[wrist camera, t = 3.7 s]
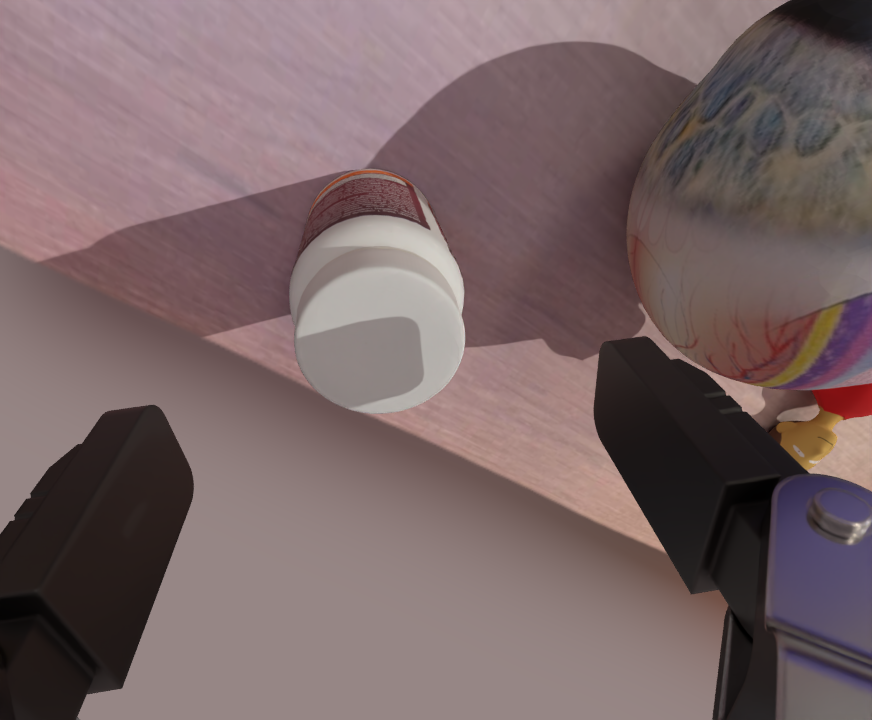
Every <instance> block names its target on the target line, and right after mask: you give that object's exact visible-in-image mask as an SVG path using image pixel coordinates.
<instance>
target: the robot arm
mask: <svg viewBox="0 0 872 720" xmlns="http://www.w3.org/2000/svg"><path fill="white" fill-rule="evenodd" d="M594 420H595V426H596V430H597V433H598V436H599V438H600V440H601V442H602V444H603V445H604V447H605V449H606V450H607V452H608V454H609V456H610V457H611V459H612V461H613V462H614V464H615V466H616V467H617V469H618V471H619V473H620V474H621V476H622V478H623V479H624V481H625V483H626V484H627V486H628V488H629V490H630V491H631V493H632V495H633V496H634V498H635V500H636V501H637V503H638V505H639V506H640V508H641V510H642V512H643V513H644V515H645V517H646V518H647V520H648V522H649V523H650V525H651V527H652V529H653V530H654V532H655V534H656V535H657V537H658V539H659V540H660V542H661V544H662V545H663V547H664V549H665V551H666V552H667V554H668V556H669V557H670V559H671V561H672V562H673V564H674V566H675V568H676V569H677V571H678V572H679V574H680V576H681V578H682V579H683V581H684V583H685V584H686V586H687V588H688V589H689V591H690V593H691V594H696V593H702V592H708V591H714V590H720V592H721V594H722V595H723V597H724V598H725V600H726V602H727V603H728V605H729V606H728V609H727V611H726V615H725V619H724V629H723V636H722V644H721V652H720V661H719V669H718V678H717V685H716V694H715V702H714V710H713V718H712V720H872V492H871V491H869V490H867V489H865V488H863V487H861V486H859V485H857V484H854V483H852V482H849V481H847V480H844V479H840V478H837V477H833V476H828V475H821V474H810V473H808V472H807V471H806V470H805V469H804V468H803V467H802V466H801V465H800V464H799V463H798V462H797V461H796V460H795V459H794V458H793V457H792V456H791V455H790V454H789V453H788V452H787V451H786V450H785V449H784V448H783V447H782V446H781V445H780V444H779V443H778V442H777V441H776V440H775V439H774V438H773V437H772V436H771V435H769V434H768V433H767V432H766V431H765V430H764V429H763V428H762V427H761V426H760V425H759V424H758V423H757V422H756V421H755V420H754V419H753V418H752V417H751V416H750V415H749V414H748V413H747V412H743V411H742V407H741V406H740V405H739V404H738V403H737V402H736V401H735V400H734V399H733V398H732V397H731V396H726V392H725V391H724V390H723V389H722V388H721V387H720V386H719V385H718V384H717V383H716V382H715V381H714V380H713V379H712V378H711V377H710V376H709V375H708V374H707V373H705V372H704V371H702V370H700V369H698V368H696V367H694V366H692V365H690V364H688V363H686V362H684V361H682V360H681V359H673V360H670V359H669V358H668V357H667V356H666V354H665V353H664V352H663V351H662V350H661V349H660V348H659V347H658V346H657V345H656V344H655V343H654V342H653V341H652V340H651V339H650V338H648V337H646V336H643V337H635V338H628V339H621V340H614V341H607V342H604V343H603V344H602V346H601V348H600V352H599V361H598V371H597V381H596V390H595V400H594ZM193 490H194V483H193V476H192V471H191V468H190V466H189V464H188V462H187V459H186V458H185V455H184V453H183V451H182V449H181V447H180V445H179V443H178V441H177V439H176V437H175V435H174V433H173V431H172V429H171V427H170V425H169V423H168V421H167V419H166V417H165V415H164V413H163V412H162V410H161V409H160V408H159V407H157V406H155V405H148V406H141V407H133V408H127V409H119V410H112V411H108V412H105V413H104V414H103V415H102V416H101V417H100V419H99V420H98V422H97V423H96V425H95V426H94V427H93V429H92V430H91V432H90V433H89V434H88V436H87V437H86V439H85V440H84V442H83V443H82V444H78V445H76V446H75V447H74V448H73V449H71V450H70V451H69V452H68V453H67V454H65V455H64V456H63V457H62V458H61V459H59V460H58V461H57V462H56V463H55V464H53V465H52V466H51V467H50V468H49V469H48V470H47V471H46V473H45V474H44V476H43V477H42V478H41V480H40V481H39V482H38V484H37V485H36V486H35V488H34V489H33V491H32V492H31V493H30V494H31V498H30V499H26V500H25V501H24V503H23V504H22V506H21V507H20V508H19V510H18V511H17V512H16V514H15V515H14V516H15V520H14V521H10V522H9V523H8V525H7V526H6V528H5V529H4V530H3V532H2V533H1V534H0V720H80V719H79V718H78V717H77V716H78V714H79V711H80V709H81V706H82V704H83V701H84V699H85V697H86V695H87V694H92V693H98V692H104V691H110V690H116V689H121V688H122V687H123V684H124V681H125V679H126V676H127V673H128V671H129V668H130V666H131V663H132V660H133V657H134V655H135V652H136V650H137V647H138V644H139V642H140V639H141V636H142V633H143V631H144V628H145V625H146V623H147V620H148V617H149V615H150V612H151V609H152V607H153V604H154V601H155V599H156V596H157V593H158V591H159V588H160V585H161V583H162V580H163V577H164V574H165V572H166V569H167V566H168V564H169V561H170V558H171V556H172V553H173V550H174V547H175V545H176V542H177V539H178V537H179V534H180V531H181V529H182V526H183V523H184V521H185V518H186V515H187V513H188V510H189V507H190V504H191V502H192V498H193Z"/></svg>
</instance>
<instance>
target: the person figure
mask: <svg viewBox="0 0 872 720" xmlns="http://www.w3.org/2000/svg"><path fill="white" fill-rule="evenodd" d="M812 392H813V394H814V396H815V398H816V401H817V403H818V406H819V409H820V411H819V414H818V415H817V416H816V417H815V418H814V419H812V420H810V421H787V422H781V423H779V424H778V425H777V426H776V427H774V428H773V429H772V430H771V431H770V432H769V433H768V434H769V435H771V436H772V437H773V438H774V439H775V440H776V441H777V442H778V443H779V444H780V445H781V446H782V447H783V448H784V449H785V450H786V451H787V452H788V453H789V454H790V455H791V456H792V457H793V458H794V459H795V460H796V461H797V462H798V463H799V464H800V465H801V466H802V467H803V468H804V469H805V470H808V469H810V468H812V467H813V466H815V465H816V464H817V463H818V462H819V461H820V460H821V459H822V458H823V457H825V456H826V455H827V454H828V453H829V452H831V450H832V449H833V448H834V446H835V444H836V441H837V436H836V434H834V433H833V432H832V429H833V427H834V426H835V425H836V423H838V422H839V421H840V420H846V419H849V418H854V417H864V416H869V415H872V383H869V384H862V385H855V386H847V387H839V388H830V389H818V390H812Z"/></svg>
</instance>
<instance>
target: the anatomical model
mask: <svg viewBox="0 0 872 720" xmlns="http://www.w3.org/2000/svg"><path fill="white" fill-rule="evenodd" d="M627 251H628V260H629V265H630V270H631V274H632V278H633V281H634V284H635V287H636V290H637V293H638V295H639V297H640V300H641V302H642V304H643V306H644V308H645V310H646V312H647V313H648V315H649V317H650V318H651V320H652V321H653V323H654V324H655V325H656V327H657V328H658V329H659V331H660V332H661V333H662V335H663V336H664V337H665V338H666V339H667V340H668V341H669V342H670V343H671V344H672V345H673V346H674V347H675V348H676V349H677V350H679V351H680V352H681V353H682V354H684V355H685V356H686V357H688V358H689V359H691V360H692V361H694V362H695V363H697V364H699V365H700V366H702V367H704V368H706V369H708V370H710V371H712V372H714V373H716V374H719V375H722V376H724V377H727V378H730V379H733V380H736V381H740V382H744V383H747V384H751V385H755V386H761V387H766V388H772V389H785V390H818V389H830V388H839V387H847V386H855V385H862V384H869V383H872V0H790V1H788V2H786V3H785V4H783V5H781V6H779V7H778V8H776V9H775V10H773V11H772V12H770V13H769V14H767V15H766V16H764V17H763V18H761V19H760V20H758V21H757V22H755V23H754V24H753V25H752V26H751V27H750V28H748V29H747V30H746V31H745V32H744V33H743V34H742V35H741V36H740V37H739V38H738V39H736V41H735V42H734V43H733V44H732V45H731V46H730V47H729V49H728V50H727V51H726V52H725V53H724V55H723V56H722V57H721V58H720V60H719V61H718V62H717V64H716V65H715V66H714V68H713V69H712V70H711V71H710V72H709V73H708V74H707V75H706V77H705V78H704V79H703V80H702V81H701V82H700V83H699V84H698V85H697V86H696V87H695V88H694V90H693V91H692V92H691V93H690V94H689V95H688V96H687V97H686V98H685V100H684V101H683V102H682V103H681V105H680V106H679V107H678V108H677V110H676V111H675V112H674V114H673V115H672V116H671V118H670V119H669V120H668V121H667V123H666V124H665V125H664V127H663V128H662V129H661V131H660V132H659V134H658V135H657V137H656V139H655V140H654V142H653V143H652V145H651V147H650V149H649V150H648V152H647V154H646V156H645V158H644V160H643V162H642V164H641V167H640V169H639V172H638V174H637V177H636V180H635V184H634V187H633V190H632V194H631V199H630V204H629V210H628V218H627Z"/></svg>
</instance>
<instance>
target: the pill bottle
mask: <svg viewBox="0 0 872 720" xmlns="http://www.w3.org/2000/svg"><path fill="white" fill-rule="evenodd" d="M289 302H290V311H291V316H292V319H293V322H294V325H295V333H294V347H295V354H296V358H297V361H298V364H299V366H300V369H301V371H302V373H303V375H304V376H305V378H306V379H307V381H308V382H309V383H310V384H311V385H312V387H313V388H314V389H315V390H316V391H317V392H319V393H320V394H321V395H322V396H323V397H325V398H326V399H328V400H330V401H331V402H333V403H335V404H337V405H339V406H341V407H344V408H347V409H349V410H353V411H357V412H363V413H370V414H383V413H393V412H398V411H403V410H406V409H409V408H412V407H415V406H417V405H419V404H421V403H423V402H425V401H427V400H429V399H430V398H432V397H433V396H434V395H436V394H437V393H439V392H440V391H441V390H442V389H443V388H444V387H445V386H446V385H447V384H448V383H449V381H450V380H451V379H452V377H453V376H454V374H455V372H456V371H457V369H458V367H459V364H460V362H461V359H462V356H463V352H464V346H465V328H464V322H463V319H462V316H461V315H462V310H463V303H464V284H463V277H462V274H461V271H460V268H459V266H458V263H457V261H456V259H455V257H454V256H453V254H452V252H451V250H450V247H449V245H448V243H447V240H446V238H445V236H444V234H443V231H442V229H441V227H440V225H439V223H438V221H437V219H436V217H435V214H434V212H433V210H432V208H431V206H430V204H429V202H428V201H427V199H426V198H425V196H424V195H423V194H422V193H421V192H420V190H419V189H418V188H417V187H416V186H415V185H414V184H412V183H411V182H410V181H408V180H407V179H405V178H403V177H401V176H400V175H397V174H395V173H392V172H389V171H385V170H380V169H361V170H355V171H352V172H349V173H346V174H344V175H341V176H340V177H338V178H336V179H334V180H333V181H332V182H330V183H329V184H328V185H327V186H326V187H325V188H324V189H323V190H322V191H321V192H320V193H319V195H318V196H317V197H316V199H315V201H314V203H313V205H312V207H311V209H310V212H309V215H308V218H307V222H306V226H305V230H304V234H303V237H302V241H301V244H300V248H299V252H298V256H297V260H296V262H295V265H294V267H293V270H292V274H291V280H290V288H289Z"/></svg>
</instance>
